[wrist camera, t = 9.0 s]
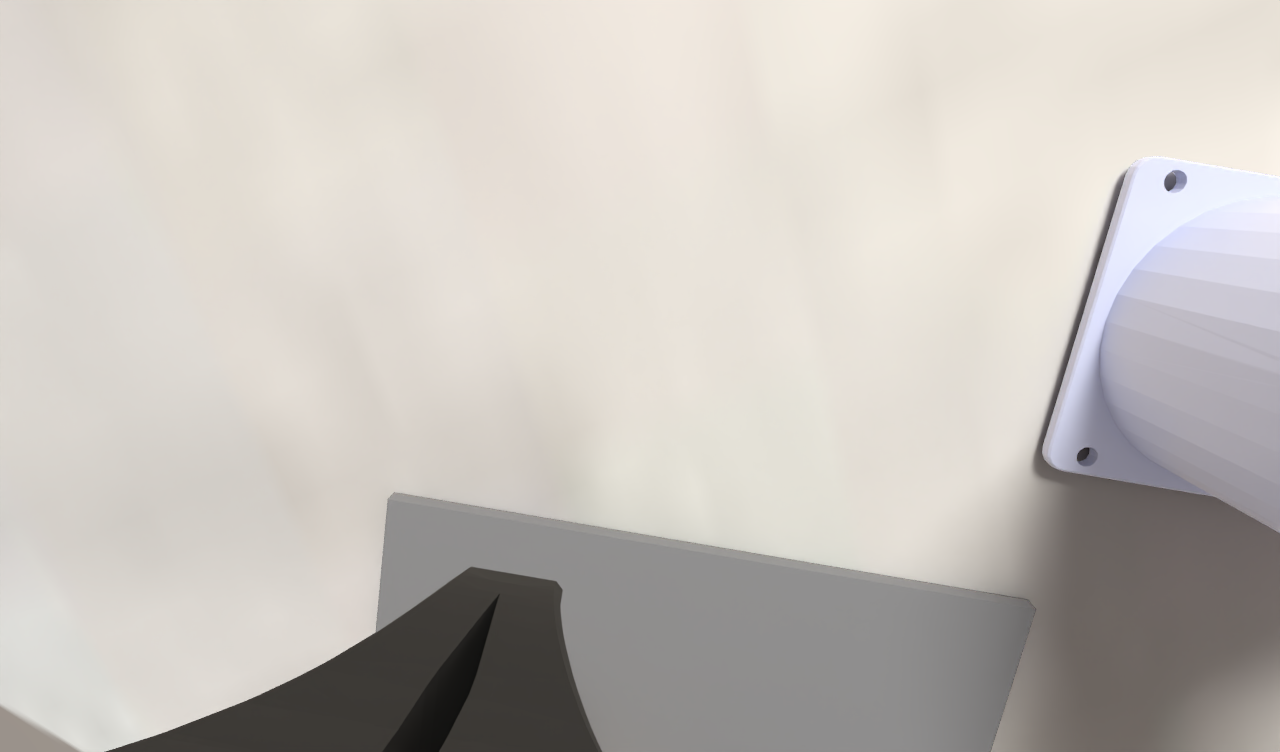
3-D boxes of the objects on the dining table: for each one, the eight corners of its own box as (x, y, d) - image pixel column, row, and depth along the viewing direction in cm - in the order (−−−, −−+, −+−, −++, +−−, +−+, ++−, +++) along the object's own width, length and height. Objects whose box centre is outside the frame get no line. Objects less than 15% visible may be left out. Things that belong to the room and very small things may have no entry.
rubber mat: (1027, 599, 22) (1036, 609, 21) (921, 936, 24) (926, 951, 24) (394, 492, 22) (387, 499, 21) (361, 841, 24) (355, 854, 24)
